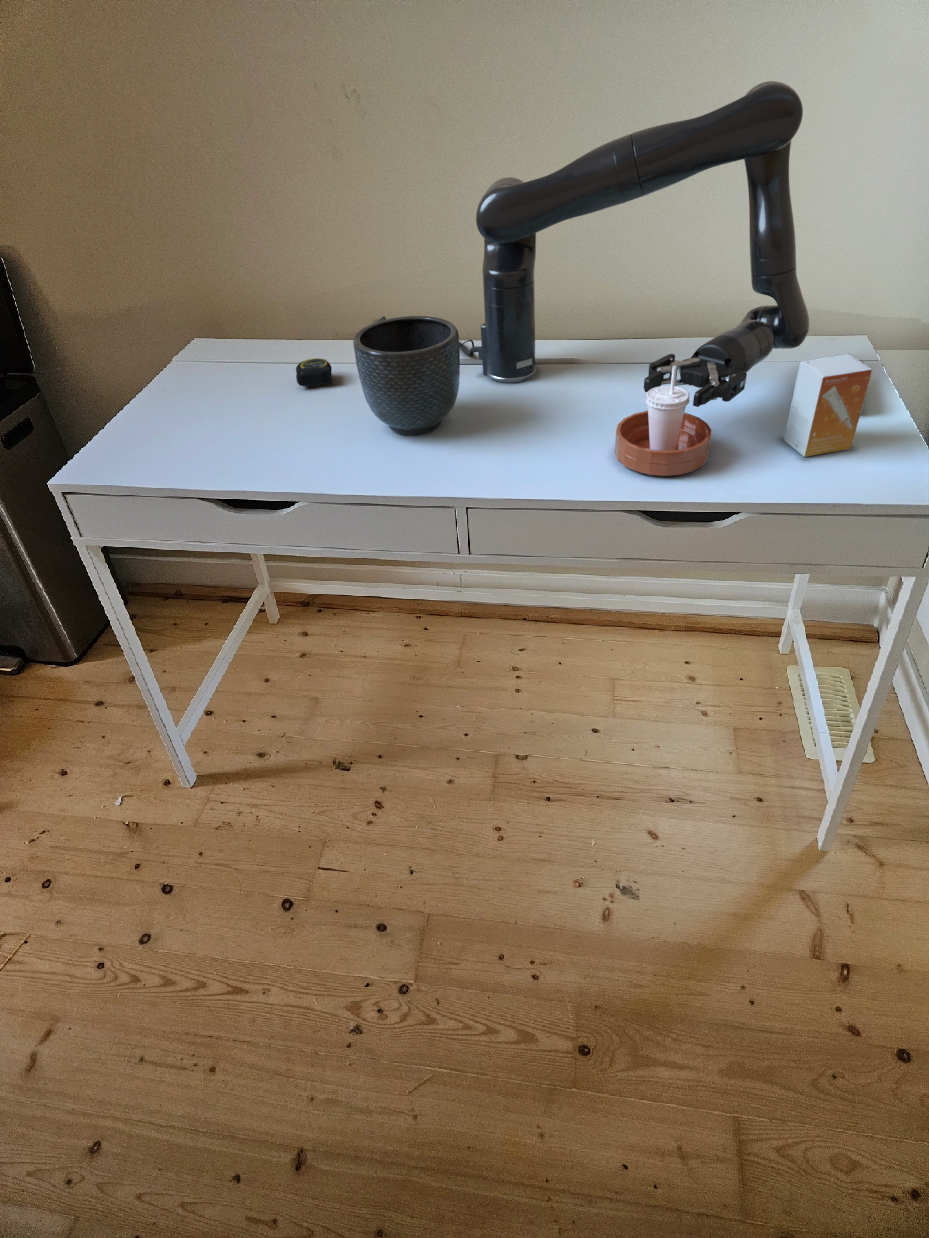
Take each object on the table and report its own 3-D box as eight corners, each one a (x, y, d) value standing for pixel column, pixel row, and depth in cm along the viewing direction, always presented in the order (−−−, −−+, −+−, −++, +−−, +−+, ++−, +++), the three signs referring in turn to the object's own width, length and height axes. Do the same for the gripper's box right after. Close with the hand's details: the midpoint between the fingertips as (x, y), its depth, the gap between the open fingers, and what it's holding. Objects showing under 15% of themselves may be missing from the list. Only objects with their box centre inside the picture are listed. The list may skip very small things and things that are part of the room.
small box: (804, 458, 124) (822, 377, 116) (782, 440, 129) (798, 360, 121) (852, 450, 125) (873, 368, 117) (829, 432, 130) (848, 352, 122)
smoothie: (683, 463, 124) (693, 375, 116) (640, 461, 126) (647, 374, 117) (683, 443, 129) (693, 358, 120) (641, 442, 130) (648, 357, 122)
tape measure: (298, 391, 156) (294, 373, 154) (299, 377, 162) (295, 359, 159) (333, 387, 157) (330, 369, 154) (333, 373, 162) (330, 355, 160)
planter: (349, 441, 139) (333, 349, 129) (392, 399, 151) (381, 312, 141) (441, 453, 133) (432, 358, 123) (479, 408, 145) (473, 318, 135)
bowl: (599, 466, 127) (600, 440, 124) (637, 428, 135) (639, 403, 133) (687, 487, 120) (690, 460, 117) (720, 446, 129) (724, 420, 126)
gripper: (689, 326, 132) (632, 358, 124) (771, 344, 124) (716, 380, 116) (684, 370, 137) (629, 405, 128) (763, 391, 129) (709, 429, 120)
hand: (670, 393), depth 122 cm, fingers open, 8 cm apart
